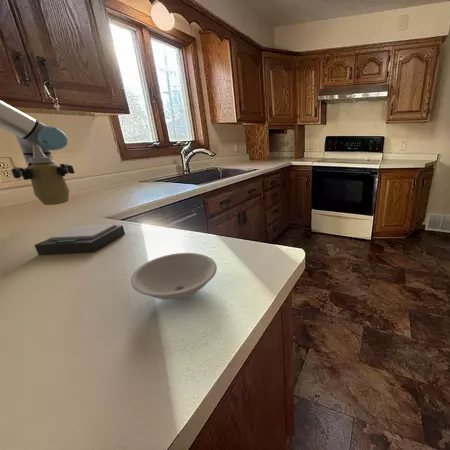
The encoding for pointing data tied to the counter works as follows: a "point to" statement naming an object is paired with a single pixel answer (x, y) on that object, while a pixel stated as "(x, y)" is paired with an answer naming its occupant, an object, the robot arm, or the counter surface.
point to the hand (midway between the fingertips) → (45, 173)
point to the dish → (174, 275)
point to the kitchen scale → (80, 239)
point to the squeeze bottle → (47, 179)
